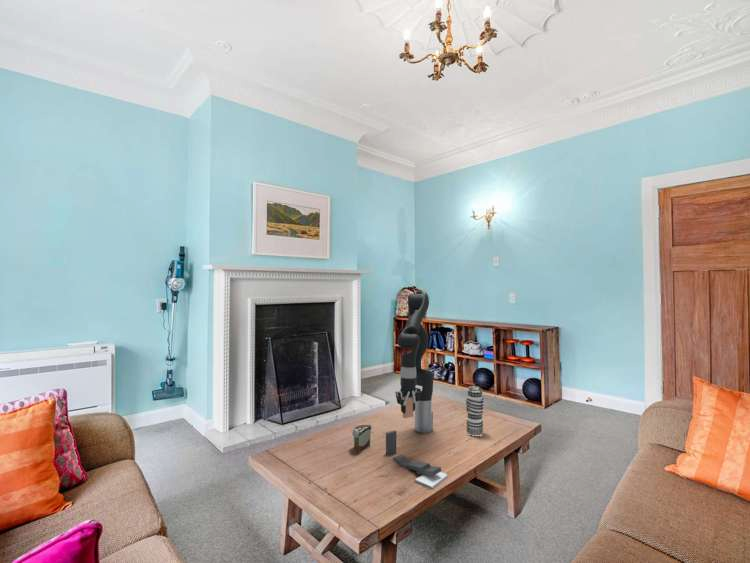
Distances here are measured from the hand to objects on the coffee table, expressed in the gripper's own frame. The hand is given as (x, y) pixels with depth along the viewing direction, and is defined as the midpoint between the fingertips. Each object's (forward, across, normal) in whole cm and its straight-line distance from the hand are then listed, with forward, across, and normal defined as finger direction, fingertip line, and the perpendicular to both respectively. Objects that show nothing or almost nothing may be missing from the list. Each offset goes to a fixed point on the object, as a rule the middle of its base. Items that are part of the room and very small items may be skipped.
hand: (408, 411), depth 175 cm
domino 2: (+20, +7, +1) cm, 21 cm away
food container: (+20, +16, -17) cm, 31 cm away
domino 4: (+19, +7, +11) cm, 23 cm away
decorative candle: (+19, -45, +2) cm, 49 cm away
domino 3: (+2, 0, 0) cm, 2 cm away
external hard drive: (+21, +6, +24) cm, 32 cm away
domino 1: (+20, +6, -5) cm, 21 cm away
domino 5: (+19, +6, +16) cm, 26 cm away
